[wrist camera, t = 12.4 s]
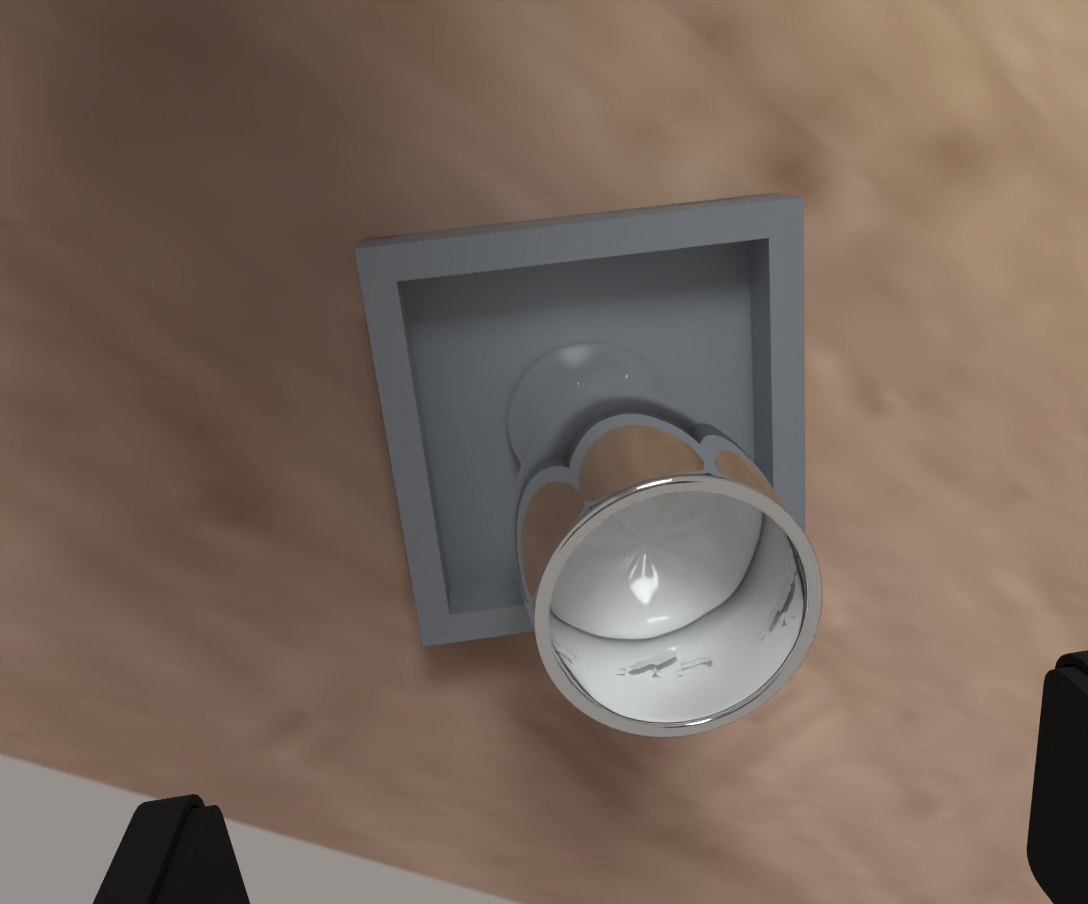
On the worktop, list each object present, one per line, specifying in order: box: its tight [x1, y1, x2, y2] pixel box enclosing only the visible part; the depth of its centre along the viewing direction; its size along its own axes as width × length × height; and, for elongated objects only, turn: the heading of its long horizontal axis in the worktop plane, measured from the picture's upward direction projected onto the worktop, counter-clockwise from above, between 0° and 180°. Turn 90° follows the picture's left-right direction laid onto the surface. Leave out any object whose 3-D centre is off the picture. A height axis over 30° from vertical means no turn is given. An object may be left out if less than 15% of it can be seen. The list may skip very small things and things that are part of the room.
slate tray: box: [354, 193, 805, 647], centre depth 33 cm, size 15×15×3 cm
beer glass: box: [508, 342, 823, 737], centre depth 27 cm, size 7×7×15 cm
